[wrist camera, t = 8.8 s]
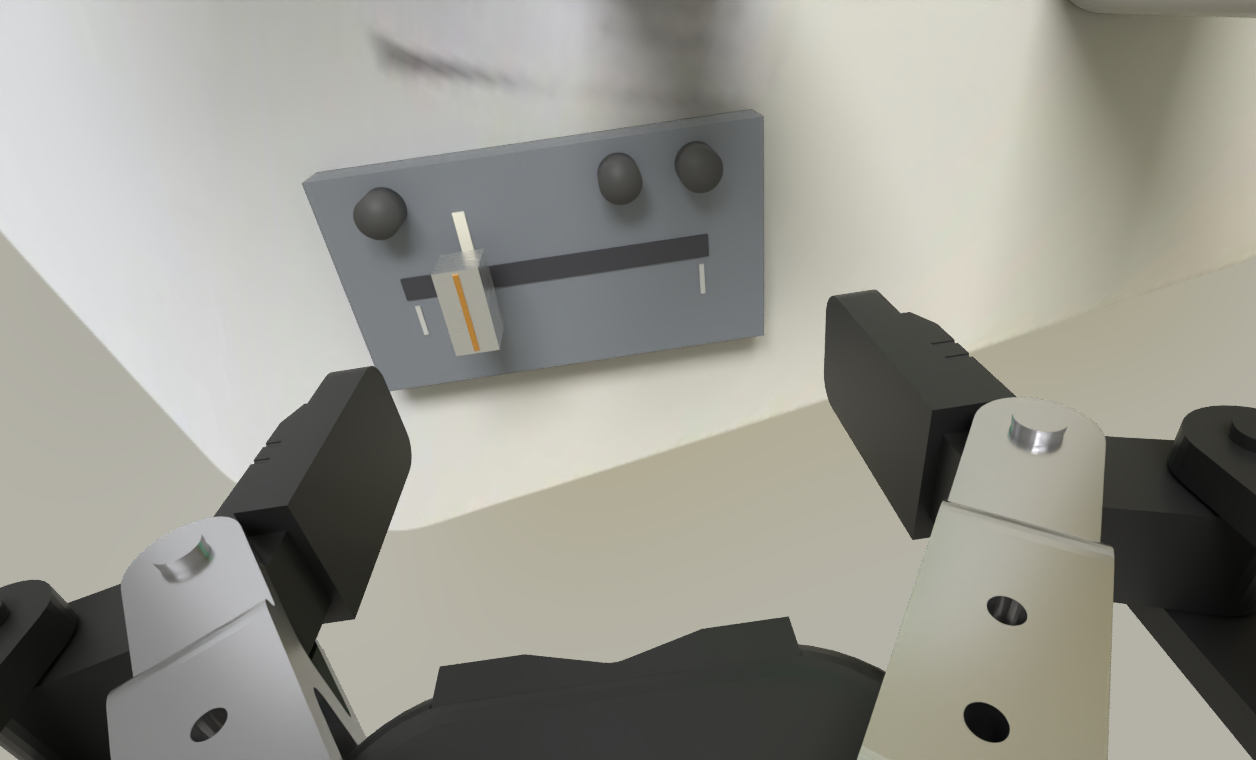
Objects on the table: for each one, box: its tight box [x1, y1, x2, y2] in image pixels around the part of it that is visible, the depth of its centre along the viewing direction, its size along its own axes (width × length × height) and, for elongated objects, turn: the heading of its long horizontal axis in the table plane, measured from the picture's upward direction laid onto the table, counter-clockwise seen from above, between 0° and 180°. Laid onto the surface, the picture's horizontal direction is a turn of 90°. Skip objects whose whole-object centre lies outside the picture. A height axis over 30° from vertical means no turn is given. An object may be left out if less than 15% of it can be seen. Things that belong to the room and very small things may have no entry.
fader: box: [431, 248, 504, 356], centre depth 36 cm, size 2×5×5 cm, turn 7°
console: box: [302, 109, 764, 391], centre depth 38 cm, size 26×14×4 cm, turn 97°
